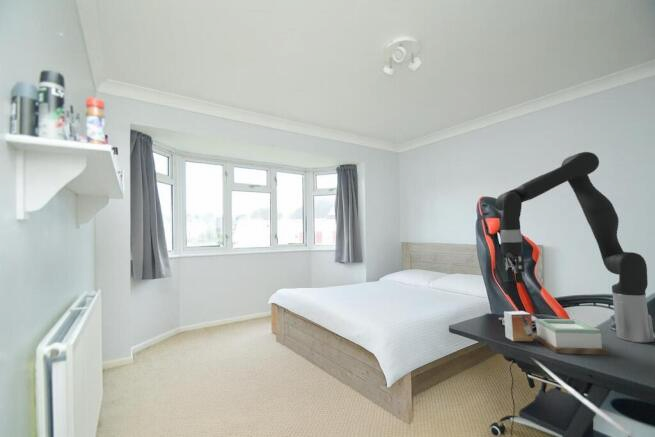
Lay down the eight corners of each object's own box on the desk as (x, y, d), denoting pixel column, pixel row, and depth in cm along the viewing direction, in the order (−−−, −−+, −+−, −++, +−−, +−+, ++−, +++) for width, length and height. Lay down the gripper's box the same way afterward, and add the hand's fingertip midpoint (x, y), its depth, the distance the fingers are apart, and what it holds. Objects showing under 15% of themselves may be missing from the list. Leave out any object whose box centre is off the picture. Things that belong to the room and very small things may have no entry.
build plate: (578, 338, 119) (577, 334, 119) (609, 354, 102) (608, 350, 102) (533, 337, 122) (532, 333, 122) (556, 353, 105) (555, 348, 105)
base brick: (577, 335, 118) (575, 319, 118) (602, 348, 104) (600, 330, 105) (537, 334, 120) (535, 319, 121) (556, 347, 107) (554, 329, 107)
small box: (513, 341, 118) (510, 314, 119) (505, 337, 124) (503, 311, 124) (534, 341, 118) (531, 313, 118) (525, 336, 123) (523, 310, 124)
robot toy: (503, 331, 134) (543, 331, 129) (502, 321, 134) (541, 320, 129) (498, 323, 145) (535, 323, 140) (497, 314, 146) (533, 313, 141)
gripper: (529, 241, 116) (533, 283, 115) (514, 240, 130) (517, 278, 129) (508, 241, 117) (511, 284, 116) (495, 241, 131) (498, 279, 130)
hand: (514, 281), depth 122 cm, fingers open, 8 cm apart
